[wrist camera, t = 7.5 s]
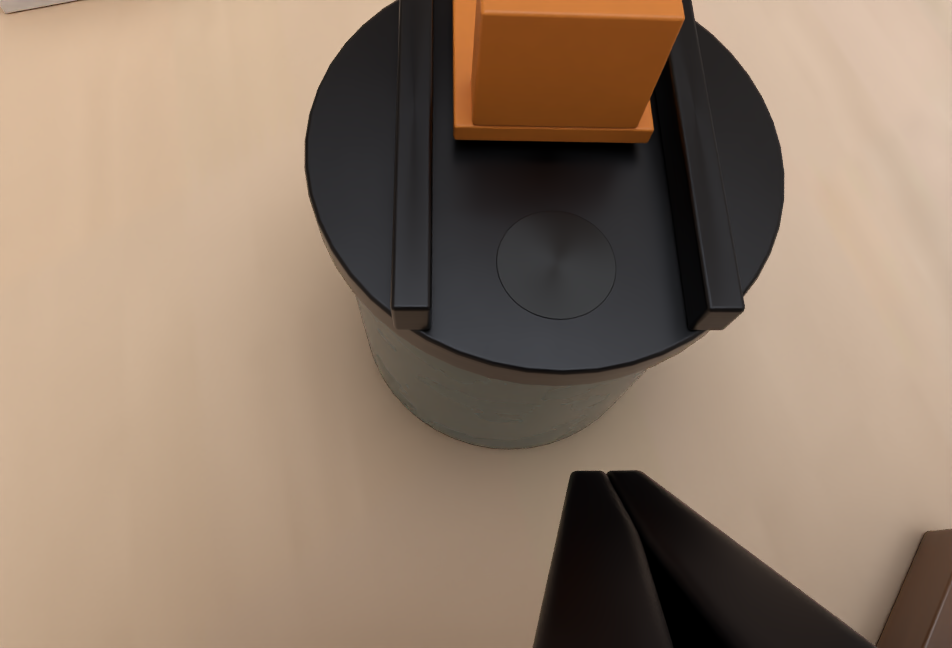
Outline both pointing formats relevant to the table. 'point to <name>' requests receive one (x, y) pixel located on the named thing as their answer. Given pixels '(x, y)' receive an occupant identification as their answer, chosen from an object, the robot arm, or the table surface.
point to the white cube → (27, 4)
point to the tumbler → (534, 231)
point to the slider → (559, 68)
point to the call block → (924, 598)
